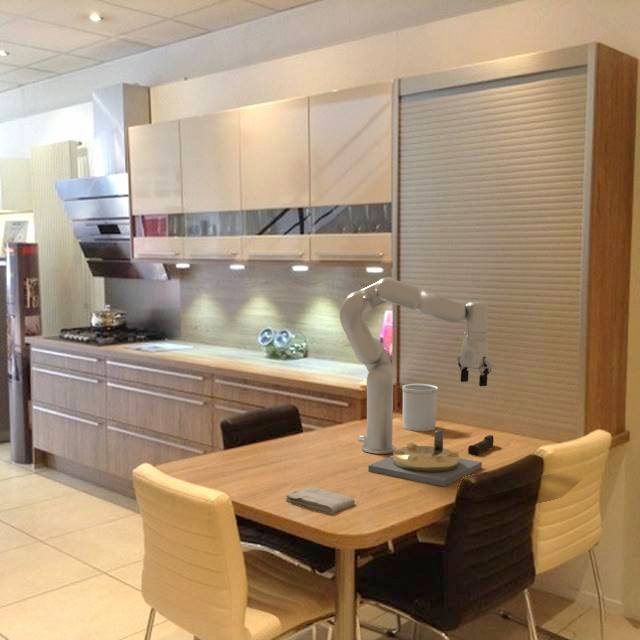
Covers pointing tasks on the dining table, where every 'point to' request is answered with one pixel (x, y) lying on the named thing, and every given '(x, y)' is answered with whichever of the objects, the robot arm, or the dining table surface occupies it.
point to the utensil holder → (419, 407)
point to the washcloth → (320, 500)
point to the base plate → (434, 478)
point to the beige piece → (427, 456)
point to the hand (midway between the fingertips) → (473, 383)
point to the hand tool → (481, 445)
